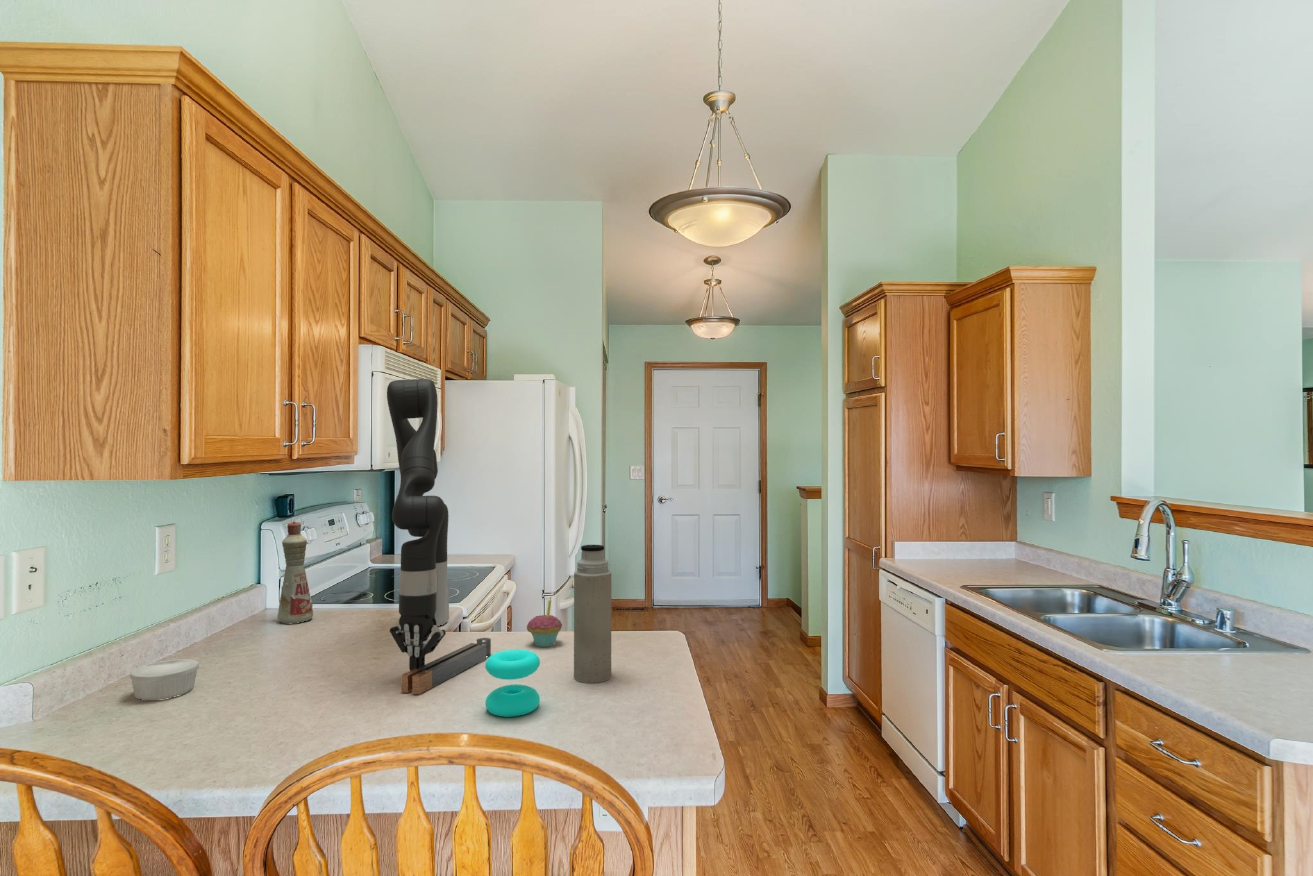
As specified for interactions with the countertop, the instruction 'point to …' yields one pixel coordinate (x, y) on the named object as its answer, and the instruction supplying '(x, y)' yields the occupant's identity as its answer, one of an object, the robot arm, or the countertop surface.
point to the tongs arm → (407, 677)
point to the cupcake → (544, 628)
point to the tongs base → (451, 667)
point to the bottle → (295, 579)
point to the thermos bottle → (592, 616)
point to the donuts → (512, 696)
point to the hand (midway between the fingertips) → (416, 673)
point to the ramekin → (164, 679)
